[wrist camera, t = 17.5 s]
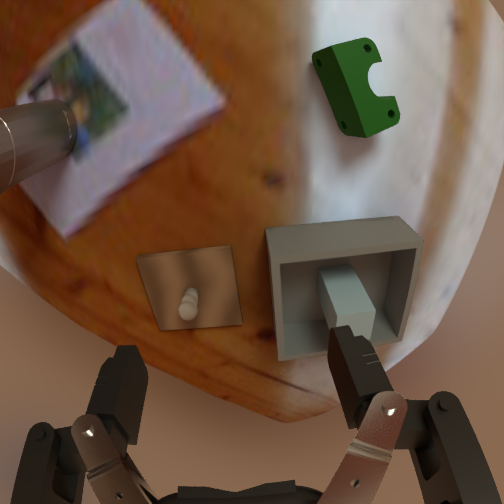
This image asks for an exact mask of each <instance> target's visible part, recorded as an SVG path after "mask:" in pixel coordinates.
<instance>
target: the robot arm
mask: <svg viewBox="0 0 504 504" xmlns="http://www.w3.org/2000/svg"><path fill="white" fill-rule="evenodd" d="M76 133H77V126H76V120H75V117H74V114H73V112H72V110H71V109H70V108H69V107H68V106H67V105H66V104H65V103H63V102H61V101H59V100H46V101H40V102H33V103H28V104H22V105H18V106H13V107H8V108H4V109H0V194H1V193H3V192H4V191H6V190H8V189H9V188H11V187H13V186H14V185H16V184H18V183H19V182H21V181H23V180H25V179H26V178H28V177H30V176H32V175H33V174H35V173H37V172H39V171H41V170H43V169H44V168H46V167H48V166H50V165H52V164H54V163H56V162H58V161H60V160H61V159H63V158H65V157H66V156H67V155H68V154H69V152H70V151H71V149H72V147H73V145H74V143H75V139H76ZM327 356H328V364H329V368H330V371H331V374H332V377H333V380H334V384H335V387H336V390H337V393H338V396H339V399H340V402H341V405H342V409H343V412H344V415H345V418H346V421H347V425H348V428H349V429H353V428H357V430H358V432H357V434H356V436H355V438H354V440H353V442H352V444H351V445H350V447H349V448H348V450H347V452H346V454H345V456H344V458H343V460H342V462H341V463H340V465H339V467H338V469H337V471H336V472H335V474H334V476H333V478H332V479H331V481H330V483H329V485H328V486H327V488H326V490H325V491H324V493H322V492H320V491H318V490H315V489H312V488H309V487H304V486H296V485H295V480H290V481H282V482H275V483H265V484H262V485H259V486H256V487H253V488H249V489H246V490H243V491H239V492H230V491H225V490H219V489H214V488H210V487H188V486H178V493H173V494H170V495H167V496H165V497H163V498H161V499H160V498H159V497H158V495H157V494H156V493H155V492H154V491H153V489H152V488H151V487H150V486H149V484H148V483H147V482H146V480H145V479H144V477H143V476H142V475H141V473H140V471H139V470H138V469H137V467H136V466H135V464H134V462H133V461H132V459H131V458H130V456H129V455H128V453H127V452H126V451H127V445H128V444H130V445H136V444H137V438H138V433H139V428H140V422H141V416H142V410H143V406H144V400H145V395H146V390H147V385H148V372H147V368H146V366H145V364H144V362H143V359H142V357H141V355H140V352H139V350H138V348H137V346H136V345H120V346H118V347H117V349H116V352H115V355H114V358H108V359H107V360H106V361H105V362H104V364H103V365H102V366H101V369H100V372H99V375H98V378H97V380H96V383H95V384H96V385H95V386H94V389H93V392H92V395H91V399H90V402H89V405H88V408H87V411H86V414H85V415H82V416H80V417H78V418H77V419H76V420H75V421H74V423H73V425H72V426H70V427H64V428H58V429H54V428H53V427H52V426H51V425H50V424H49V423H46V422H40V423H37V424H35V425H34V426H33V427H32V428H31V429H30V430H29V433H28V435H27V439H26V442H25V445H24V449H23V452H22V456H21V460H20V464H19V467H18V472H17V476H16V480H15V484H14V489H13V493H12V498H11V503H10V504H81V502H82V494H83V486H84V479H85V472H89V474H88V475H87V479H88V481H89V483H90V485H91V487H92V489H93V491H94V493H95V495H96V496H97V498H98V500H99V502H100V504H371V503H372V501H373V499H374V497H375V495H376V492H377V490H378V488H379V486H380V484H381V482H382V479H383V477H384V475H385V473H386V470H387V468H388V466H389V463H390V460H391V457H392V456H391V454H392V451H393V449H409V451H410V454H411V458H412V461H413V464H414V467H415V471H416V474H417V477H418V481H419V484H420V488H421V491H422V495H423V499H424V502H425V504H502V502H501V499H500V496H499V493H498V490H497V487H496V485H495V482H494V479H493V476H492V474H491V471H490V469H489V466H488V464H487V461H486V459H485V456H484V454H483V451H482V449H481V446H480V444H479V442H478V440H477V437H476V435H475V433H474V431H473V428H472V426H471V424H470V422H469V419H468V417H467V415H466V413H465V411H464V409H463V407H462V405H461V403H460V401H459V399H458V398H457V397H456V396H455V395H454V394H452V393H450V392H446V391H441V392H437V393H435V394H434V395H433V396H431V398H430V400H408V399H405V398H404V397H403V396H402V395H401V394H399V393H397V392H395V391H394V390H393V388H392V386H391V384H390V382H389V379H388V377H387V375H386V373H385V371H384V369H383V367H382V365H381V362H379V358H378V356H377V354H376V353H375V350H374V348H373V346H372V344H371V342H369V341H368V340H367V339H366V338H365V337H364V336H363V335H360V336H354V334H353V332H352V330H351V328H350V326H349V325H345V326H339V327H332V328H331V329H330V334H329V344H328V354H327Z"/></svg>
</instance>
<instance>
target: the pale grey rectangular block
mask: <svg viewBox="0 0 504 504" xmlns="http://www.w3.org/2000/svg"><path fill="white" fill-rule="evenodd" d="M318 297H319V300H320V303H321V306H322V309H323V312H324V315H325V318H326V321H327V324H328V327H329V330H330V329H331V328H332V327H339V326H345V325H349V326H350V328H351V330H352V332H353V334H354V336H360V335H363V336H364V337H365V338H366V339H367V340H368V339H370V338H371V333H372V328H373V323H374V318H375V312H376V310H375V308H374V306H373V304H372V302H371V300H370V298H369V296H368V294H367V293H366V291H365V289H364V287H363V285H362V283H361V282H360V280H359V278H358V276H357V274H356V273H355V271H354V269H353V267H352V265H351V264H345V265H336V266H327V267H318Z"/></svg>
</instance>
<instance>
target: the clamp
mask: <svg viewBox="0 0 504 504" xmlns="http://www.w3.org/2000/svg"><path fill="white" fill-rule="evenodd" d="M312 61H313V64H314V66H315V69H316V71H317V73H318V76H319V78H320V80H321V83H322V85H323V87H324V90H325V92H326V95H327V97H328V100H329V102H330V105H331V107H332V110H333V113H334V115H335V118H336V120H337V123H338V126H339V128H340V130H341V131H342V132H343V133H344V134H345V135H348V136H356V137H363V138H368V137H370V136H372V135H374V134H376V133H379V132H381V131H383V130H385V129H388V128H390V127H392V126H394V125H396V124H397V123H398V122H399V119H400V112H399V108H398V105H397V102H396V99H395V96H383V97H377V96H376V95H375V94H374V93H373V91H372V90H371V88H370V86H369V83H368V71H369V68H370V67H371V65H372V64H373V63H377V62H382V60H381V57H380V54H379V52H378V49H377V47H376V45H375V43H374V42H373V41H372V40H371V39H369V38H360V39H356V40H352V41H348V42H344V43H340V44H336V45H332V46H329V47H327V48H324V49H322V50H319V51H317V52H314V53H313V54H312Z"/></svg>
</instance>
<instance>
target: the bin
mask: <svg viewBox="0 0 504 504" xmlns="http://www.w3.org/2000/svg"><path fill="white" fill-rule="evenodd" d="M265 230H266V241H267V253H268V264H269V276H270V287H271V299H272V311H273V324H274V332H275V340H276V347H277V355H278V361H286V360H294V359H302V358H309V357H316V356H323V355H327V354H328V344H329V334H330V330H329V327H328V324H327V321H326V318H325V315H324V312H323V309H322V306H321V303H320V300H319V297H318V267H327V266H336V265H345V264H351V265H352V267H353V269H354V271H355V273H356V274H357V276H358V278H359V280H360V282H361V283H362V285H363V287H364V289H365V291H366V293H367V294H368V296H369V298H370V300H371V302H372V304H373V306H374V308H375V310H376V312H375V318H374V323H373V328H372V333H371V338H370V339H368V341H369V342H371V344H372V346H373V347H375V346H380V345H385V344H390V343H395V342H399V341H402V338H403V335H404V331H405V327H406V324H407V320H408V316H409V312H410V308H411V304H412V299H413V295H414V291H415V286H416V281H417V277H418V272H419V266H420V261H421V256H422V250H423V244H424V240H423V239H422V238H421V237H420V236H419V235H418V234H417V233H416V232H415V231H414V230H413V229H412V228H411V227H410V226H409V225H408V224H407V223H406V222H405V221H404V220H403V219H401V218H400V217H399V216H390V217H378V218H367V219H356V220H345V221H334V222H323V223H313V224H303V225H293V226H283V227H273V228H265Z"/></svg>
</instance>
